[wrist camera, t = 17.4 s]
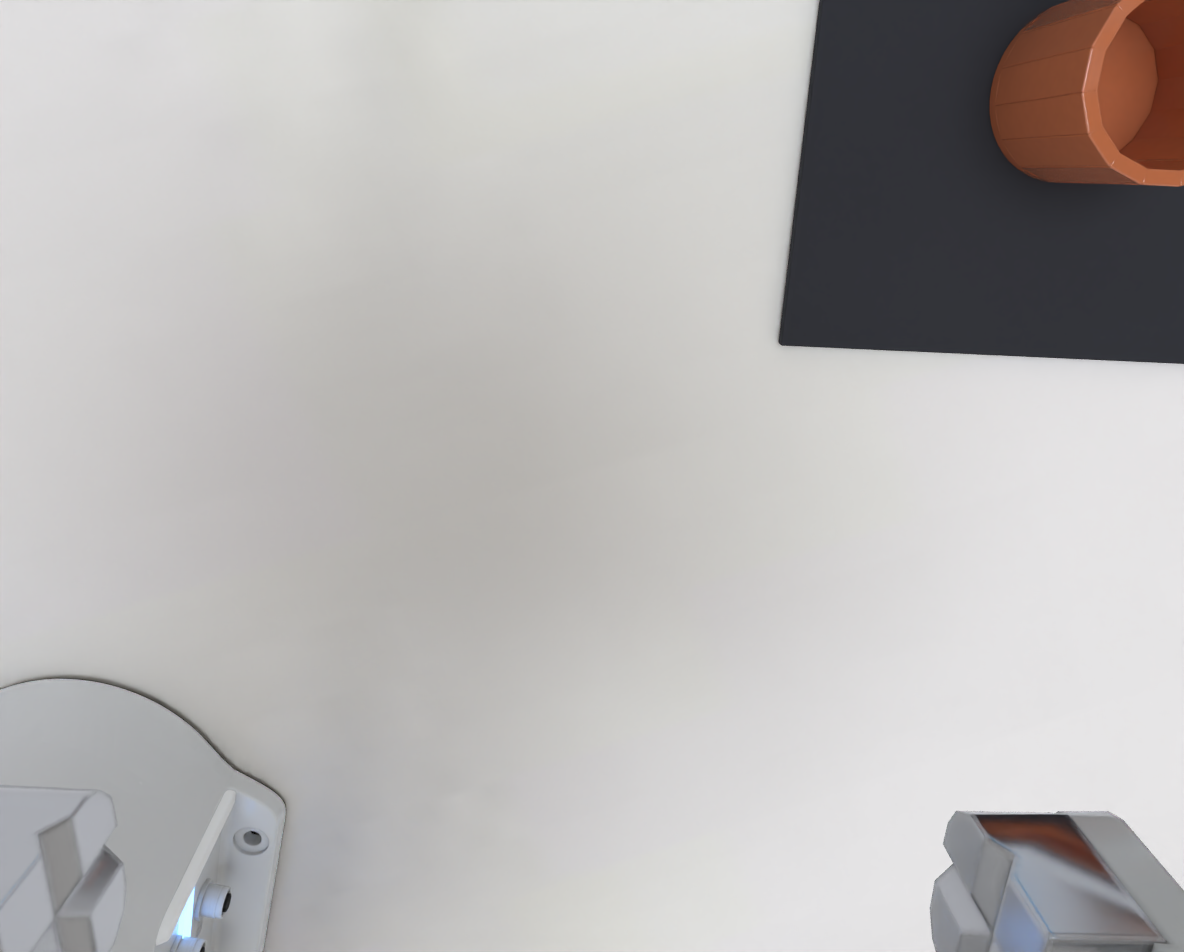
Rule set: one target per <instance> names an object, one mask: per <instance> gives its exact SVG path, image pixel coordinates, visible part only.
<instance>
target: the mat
mask: <svg viewBox="0 0 1184 952" xmlns="http://www.w3.org/2000/svg"><path fill="white" fill-rule="evenodd" d="M1065 1H1068V0H820V3H819V11H818V20H817V28H816V36H815V45H814V53H813V61H812V70H811V78H810V86H809V95H808V103H807V111H806V120H805V128H804V136H803V145H802V153H801V161H800V170H799V178H798V186H797V194H796V203H795V211H794V219H793V228H792V236H791V244H790V253H789V261H788V269H787V278H786V286H785V294H784V303H783V311H782V319H781V328H780V336H779V343H780V344H781V345H786V346H808V347H830V348H852V349H873V350H895V351H917V352H939V353H961V354H983V355H1005V356H1026V357H1048V358H1070V359H1092V360H1114V361H1136V362H1158V363H1179V364H1184V186H1179V187H1164V186H1130V185H1096V184H1069V183H1051V182H1045V181H1041V180H1038V179H1035V178H1032V177H1030V176H1028V175H1026V174H1024V173H1023V172H1021V171H1020V170H1018V169H1017V168H1016V167H1015V166H1014V165H1013V164H1011V163H1010V162H1009V160H1008V159H1007V158H1006V157H1005V155H1004V154H1003V153H1002V151H1001V149H1000V147H999V146H998V144H997V141H996V139H995V136H994V134H993V130H992V126H991V120H990V93H991V86H992V82H993V78H994V75H995V72H996V69H997V67H998V64H999V62H1000V60H1001V58H1002V56H1003V54H1004V52H1005V50H1006V49H1007V47H1008V46H1009V44H1010V43H1011V41H1012V40H1013V39H1014V37H1015V36H1016V35H1017V34H1018V33H1019V31H1020V30H1021V29H1022V28H1023V27H1024V26H1025V25H1026V24H1027V23H1028V22H1030V21H1031V20H1032V19H1033V18H1035V17H1036V16H1037V15H1039V14H1040V13H1042V12H1043V11H1045V10H1047V9H1048V8H1050V7H1053V6H1055V5H1057V4H1059V3H1062V2H1065Z"/></svg>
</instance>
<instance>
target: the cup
mask: <svg viewBox="0 0 1184 952" xmlns="http://www.w3.org/2000/svg"><path fill="white" fill-rule="evenodd" d="M990 120H991V126H992V130H993V134H994V136H995V139H996V141H997V144H998V146H999V147H1000V149H1001V151H1002V153H1003V154H1004V155H1005V157H1006V158H1007V159H1008V160H1009V162H1010V163H1011V164H1013V165H1014V166H1015V167H1016V168H1017V169H1018V170H1020V171H1021V172H1023V173H1024V174H1026V175H1028V176H1030V177H1032V178H1035V179H1038V180H1041V181H1045V182H1051V183H1069V184H1096V185H1130V186H1164V187H1179V186H1184V0H1068V1H1065V2H1062V3H1059V4H1057V5H1055V6H1053V7H1050V8H1048V9H1047V10H1045V11H1043V12H1042V13H1040V14H1039V15H1037V16H1036V17H1035V18H1033V19H1032V20H1031V21H1030V22H1028V23H1027V24H1026V25H1025V26H1024V27H1023V28H1022V29H1021V30H1020V31H1019V33H1018V34H1017V35H1016V36H1015V37H1014V39H1013V40H1012V41H1011V43H1010V44H1009V46H1008V47H1007V49H1006V50H1005V52H1004V54H1003V56H1002V58H1001V60H1000V62H999V64H998V67H997V69H996V72H995V75H994V78H993V82H992V86H991V93H990Z"/></svg>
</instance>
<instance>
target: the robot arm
mask: <svg viewBox="0 0 1184 952" xmlns="http://www.w3.org/2000/svg"><path fill="white" fill-rule="evenodd" d="M285 817H286V807H285V804H284V802H283V800H282V799H281V798H280V797H279V796H278V795H277V794H276V793H275V792H273V791H272V790H271V789H269V788H268V787H266V786H264V785H263V784H261V783H259V782H257V781H255V780H254V779H252V778H250V777H248V776H246V775H244V774H242V773H240V772H238V771H236V770H234V769H233V768H232V767H231V766H230V765H229V764H227V763H226V762H225V761H224V760H223V759H222V758H221V757H220V756H219V754H218V753H217V752H216V751H215V750H214V749H213V748H212V747H211V745H210V744H209V743H208V742H207V741H206V740H205V739H204V738H203V737H202V736H201V735H200V734H199V733H198V732H197V731H196V730H195V729H194V728H193V727H191V726H190V725H189V724H188V723H187V722H185V721H184V720H183V719H181V718H180V717H179V716H177V715H176V714H174V713H173V712H171V711H170V710H168V709H167V708H165V707H163V706H161V705H160V704H158V703H156V702H154V701H152V700H150V699H148V698H146V697H143V696H141V695H139V694H137V693H134V692H131V691H128V690H126V689H122V688H119V687H116V686H112V685H108V684H104V683H99V682H94V681H87V680H79V679H43V680H36V681H29V682H24V683H20V684H16V685H12V686H9V687H6V688H4V689H1V690H0V952H263V950H264V944H265V938H266V932H267V926H268V920H269V914H270V908H271V902H272V896H273V890H274V884H275V878H276V872H277V866H278V860H279V854H280V848H281V842H282V836H283V830H284V824H285ZM250 831H254V832H257V833H258V834H259V835H255V834H253V833H251V832H250ZM943 845H944V847H945V849H946V851H947V853H948V854H949V856H950V858H951V860H952V862H953V864H952V865H951V866H950V867H949V868H948V869H947V870H946V871H945V872H944V873H942V874H941V875H940V876H939V877H938V878H937V879H936V880H935V883H934V888H933V894H932V899H931V905H930V916H931V929H932V939H933V943H934V947H935V950H936V952H1184V890H1183V889H1182V888H1181V887H1180V886H1179V885H1178V883H1177V882H1176V881H1175V880H1174V879H1173V878H1172V876H1171V875H1170V874H1169V873H1168V872H1167V871H1166V869H1165V868H1164V867H1163V866H1162V865H1161V864H1160V862H1159V861H1158V860H1157V859H1156V858H1155V856H1154V855H1153V854H1152V853H1151V852H1150V851H1149V849H1148V848H1147V847H1146V846H1145V845H1144V844H1143V842H1142V841H1141V840H1140V839H1139V838H1138V837H1137V835H1136V834H1135V833H1134V832H1133V831H1132V830H1131V828H1130V827H1129V826H1128V825H1127V824H1126V823H1125V821H1124V820H1122V819H1121V818H1119V817H1117V816H1116V815H1114V814H1112V813H1110V812H1108V811H1058V812H1056V813H1040V812H985V811H956V812H955V813H954V815H953V816H952V818H951V819H950V821H949V822H948V825H947V829H946V833H945V837H944V842H943Z"/></svg>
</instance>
